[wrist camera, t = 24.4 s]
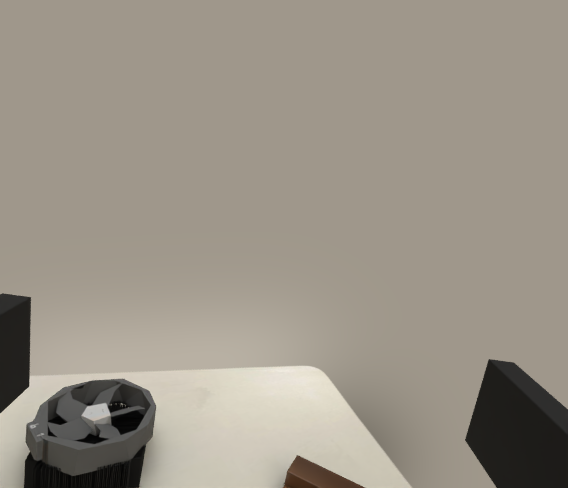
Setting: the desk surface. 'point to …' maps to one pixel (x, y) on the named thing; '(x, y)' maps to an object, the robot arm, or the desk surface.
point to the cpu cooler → (90, 436)
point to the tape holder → (314, 476)
